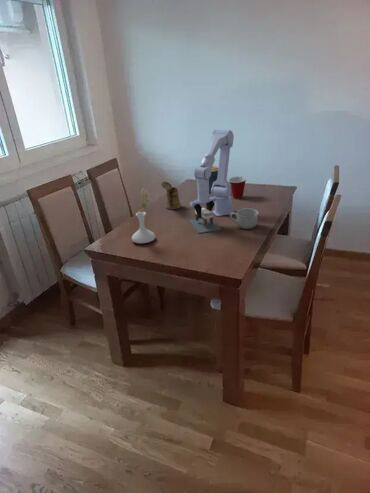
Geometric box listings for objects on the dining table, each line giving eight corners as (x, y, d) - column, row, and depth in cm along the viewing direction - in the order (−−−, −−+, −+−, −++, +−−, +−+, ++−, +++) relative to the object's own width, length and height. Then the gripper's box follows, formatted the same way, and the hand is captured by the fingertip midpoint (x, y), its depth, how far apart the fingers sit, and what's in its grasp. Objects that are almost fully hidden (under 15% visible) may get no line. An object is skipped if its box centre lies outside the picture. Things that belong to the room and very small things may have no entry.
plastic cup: (225, 197, 227) (224, 178, 222) (240, 193, 231) (240, 175, 226) (234, 201, 218) (234, 182, 213) (249, 198, 222) (250, 179, 217)
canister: (199, 193, 236) (198, 166, 228) (202, 187, 248) (201, 161, 240) (220, 193, 234) (219, 166, 226) (221, 187, 245) (221, 161, 238)
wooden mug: (159, 211, 210) (156, 181, 202) (169, 203, 221) (167, 174, 213) (173, 213, 207) (171, 182, 199) (183, 205, 218) (181, 175, 210)
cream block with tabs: (213, 224, 184) (213, 212, 182) (204, 226, 182) (204, 214, 180) (203, 218, 192) (203, 207, 190) (195, 220, 190) (194, 209, 188)
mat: (188, 221, 195) (188, 219, 194) (210, 217, 197) (210, 216, 197) (198, 233, 179) (198, 232, 179) (221, 230, 181) (221, 229, 181)
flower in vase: (146, 247, 168) (140, 195, 157) (127, 243, 174) (120, 192, 163) (162, 236, 178) (157, 187, 167) (143, 232, 184) (138, 184, 173)
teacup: (259, 223, 186) (260, 208, 183) (256, 232, 177) (256, 216, 174) (232, 221, 191) (232, 207, 187) (228, 229, 182) (227, 214, 178)
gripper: (211, 186, 186) (212, 211, 192) (186, 191, 180) (187, 217, 186) (219, 189, 180) (219, 215, 186) (193, 195, 175) (194, 221, 181)
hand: (204, 216), depth 186 cm, fingers closed on cream block with tabs, 5 cm apart
